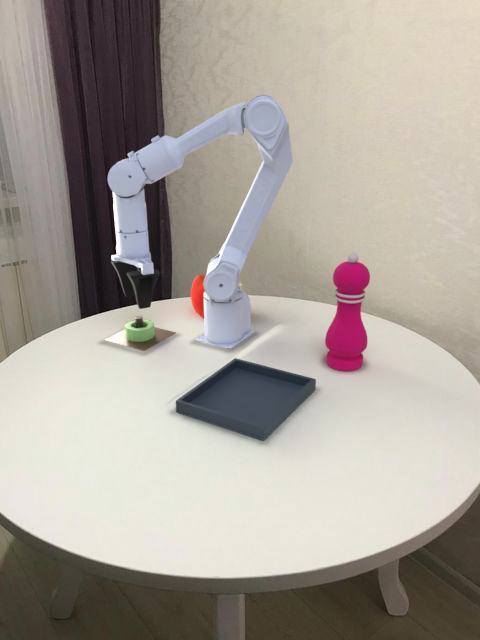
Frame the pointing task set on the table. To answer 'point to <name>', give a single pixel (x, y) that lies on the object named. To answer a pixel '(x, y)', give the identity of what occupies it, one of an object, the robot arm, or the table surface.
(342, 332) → the pepper mill
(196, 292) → the tomato
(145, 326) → the ring
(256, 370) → the tray
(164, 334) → the stand
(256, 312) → the table surface
